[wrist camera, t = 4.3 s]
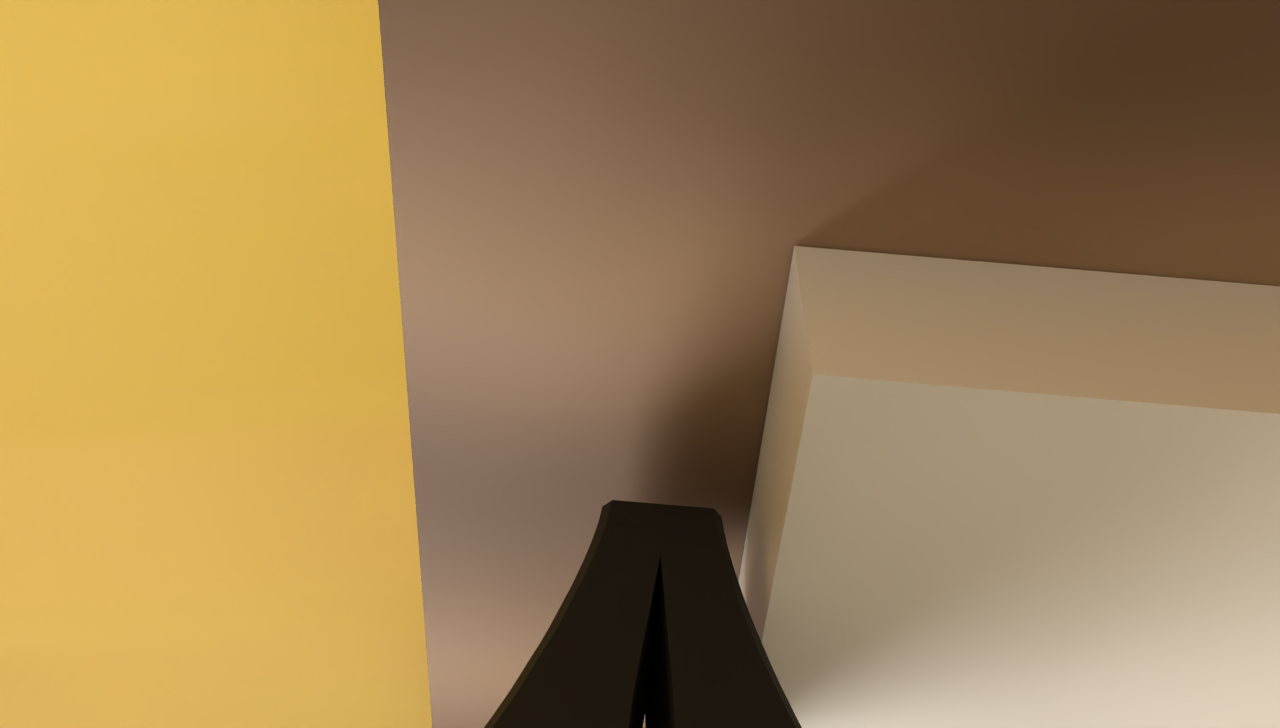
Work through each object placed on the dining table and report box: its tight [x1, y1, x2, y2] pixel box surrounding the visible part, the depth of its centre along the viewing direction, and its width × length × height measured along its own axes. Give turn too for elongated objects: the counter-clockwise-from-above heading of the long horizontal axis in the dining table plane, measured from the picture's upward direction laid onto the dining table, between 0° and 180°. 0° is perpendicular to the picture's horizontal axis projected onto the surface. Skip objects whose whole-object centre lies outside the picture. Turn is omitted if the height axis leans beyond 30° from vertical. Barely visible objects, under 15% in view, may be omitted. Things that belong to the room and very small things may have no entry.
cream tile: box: [739, 246, 1280, 728], centre depth 12 cm, size 8×6×2 cm
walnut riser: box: [378, 0, 1280, 728], centre depth 15 cm, size 18×12×4 cm, turn 176°
